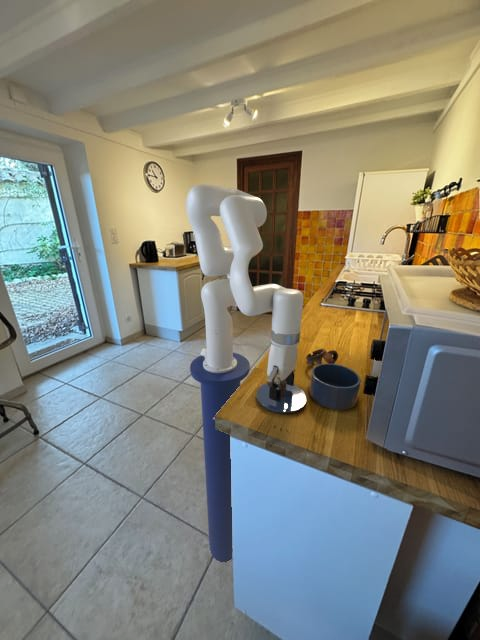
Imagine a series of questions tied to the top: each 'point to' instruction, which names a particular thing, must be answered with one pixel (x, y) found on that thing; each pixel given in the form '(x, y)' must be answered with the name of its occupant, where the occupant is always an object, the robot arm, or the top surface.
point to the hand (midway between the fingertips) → (281, 391)
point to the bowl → (334, 386)
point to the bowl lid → (282, 398)
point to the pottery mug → (322, 353)
